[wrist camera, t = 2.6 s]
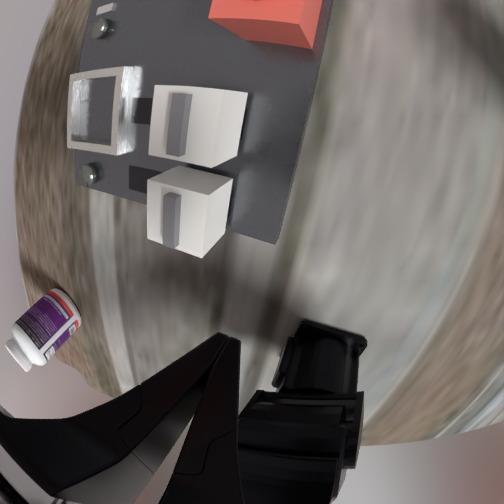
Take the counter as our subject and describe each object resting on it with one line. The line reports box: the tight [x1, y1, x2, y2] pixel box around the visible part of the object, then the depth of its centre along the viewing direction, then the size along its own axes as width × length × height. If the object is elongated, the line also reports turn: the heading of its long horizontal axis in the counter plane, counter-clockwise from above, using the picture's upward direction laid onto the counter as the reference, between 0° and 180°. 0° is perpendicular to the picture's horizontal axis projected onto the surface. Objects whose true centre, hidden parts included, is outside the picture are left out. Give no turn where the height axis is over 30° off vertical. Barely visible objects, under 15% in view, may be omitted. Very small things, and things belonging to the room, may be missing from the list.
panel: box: [67, 0, 333, 245], centre depth 15 cm, size 20×20×2 cm
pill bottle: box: [5, 288, 81, 372], centre depth 32 cm, size 8×8×14 cm
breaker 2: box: [147, 166, 233, 258], centre depth 16 cm, size 4×4×4 cm
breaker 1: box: [148, 85, 248, 168], centre depth 13 cm, size 4×4×4 cm
